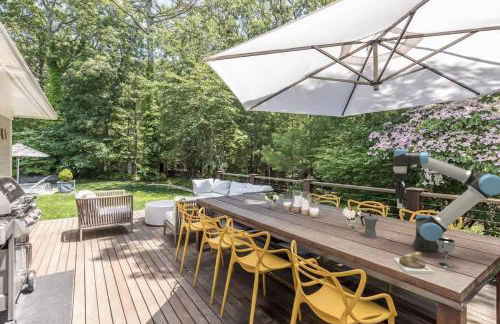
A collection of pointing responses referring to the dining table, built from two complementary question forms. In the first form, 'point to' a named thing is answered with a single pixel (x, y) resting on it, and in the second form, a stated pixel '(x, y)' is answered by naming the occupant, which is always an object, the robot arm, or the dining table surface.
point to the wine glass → (446, 249)
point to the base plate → (414, 270)
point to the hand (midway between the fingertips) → (399, 208)
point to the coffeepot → (369, 226)
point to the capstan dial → (412, 260)
